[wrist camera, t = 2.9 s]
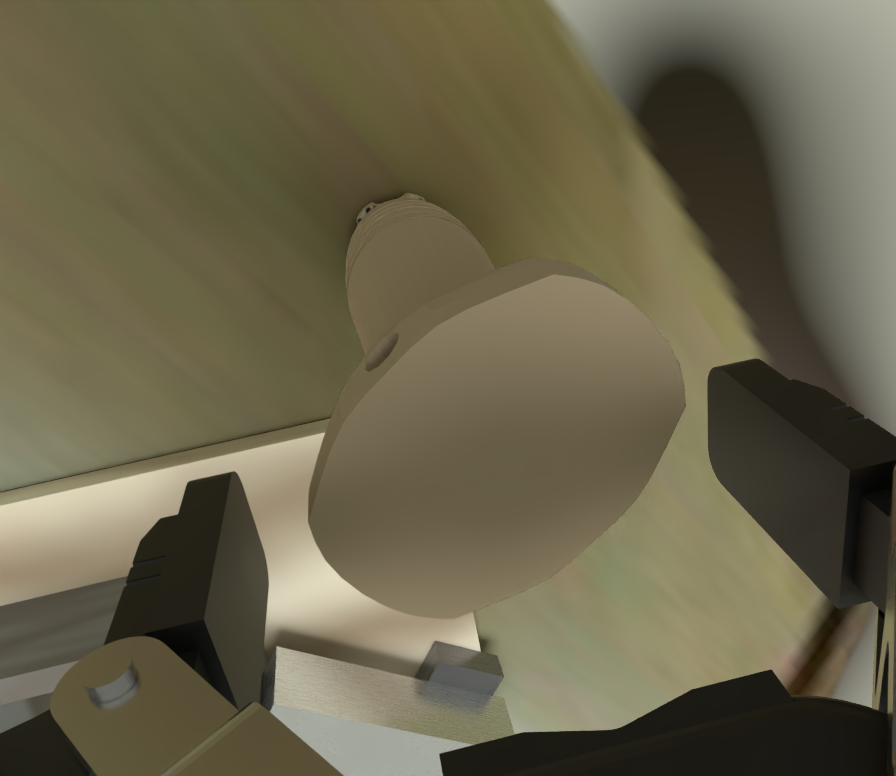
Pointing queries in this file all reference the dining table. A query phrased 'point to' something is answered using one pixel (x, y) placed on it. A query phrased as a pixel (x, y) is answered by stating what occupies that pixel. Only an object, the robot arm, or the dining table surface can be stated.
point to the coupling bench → (115, 544)
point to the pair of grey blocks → (388, 709)
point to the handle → (481, 416)
